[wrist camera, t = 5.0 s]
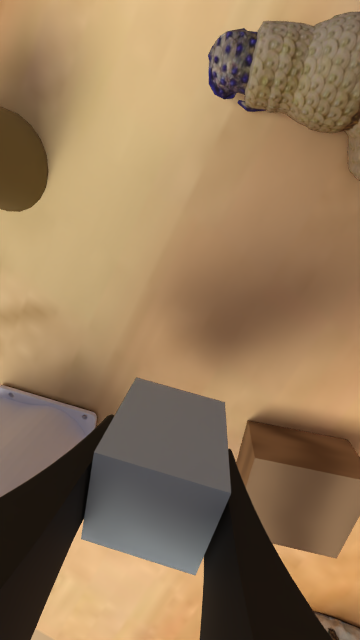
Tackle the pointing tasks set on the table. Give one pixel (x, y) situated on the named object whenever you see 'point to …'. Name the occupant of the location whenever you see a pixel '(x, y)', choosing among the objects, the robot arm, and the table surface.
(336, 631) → the santa figurine
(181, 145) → the table surface
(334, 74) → the decorative bottle
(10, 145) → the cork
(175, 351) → the table surface
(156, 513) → the slate cube
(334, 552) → the walnut block
